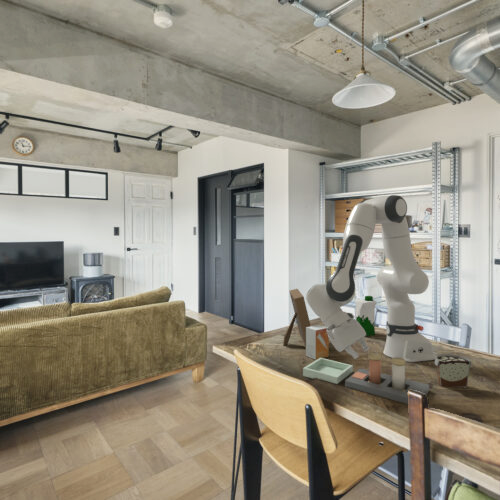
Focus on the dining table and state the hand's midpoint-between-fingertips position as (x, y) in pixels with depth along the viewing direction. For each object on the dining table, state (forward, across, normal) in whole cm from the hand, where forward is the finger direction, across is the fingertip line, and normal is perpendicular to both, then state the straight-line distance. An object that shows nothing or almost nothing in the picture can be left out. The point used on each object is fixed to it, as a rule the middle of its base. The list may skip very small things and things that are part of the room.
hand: (362, 353), depth 127 cm
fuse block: (+14, 0, +2) cm, 14 cm away
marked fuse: (+10, 0, +4) cm, 11 cm away
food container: (+25, +19, -9) cm, 33 cm away
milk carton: (-8, +59, +23) cm, 64 cm away
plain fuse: (+16, 0, -2) cm, 16 cm away
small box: (-11, +15, +26) cm, 32 cm away
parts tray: (-2, 0, +17) cm, 17 cm away
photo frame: (-23, +26, +39) cm, 52 cm away
